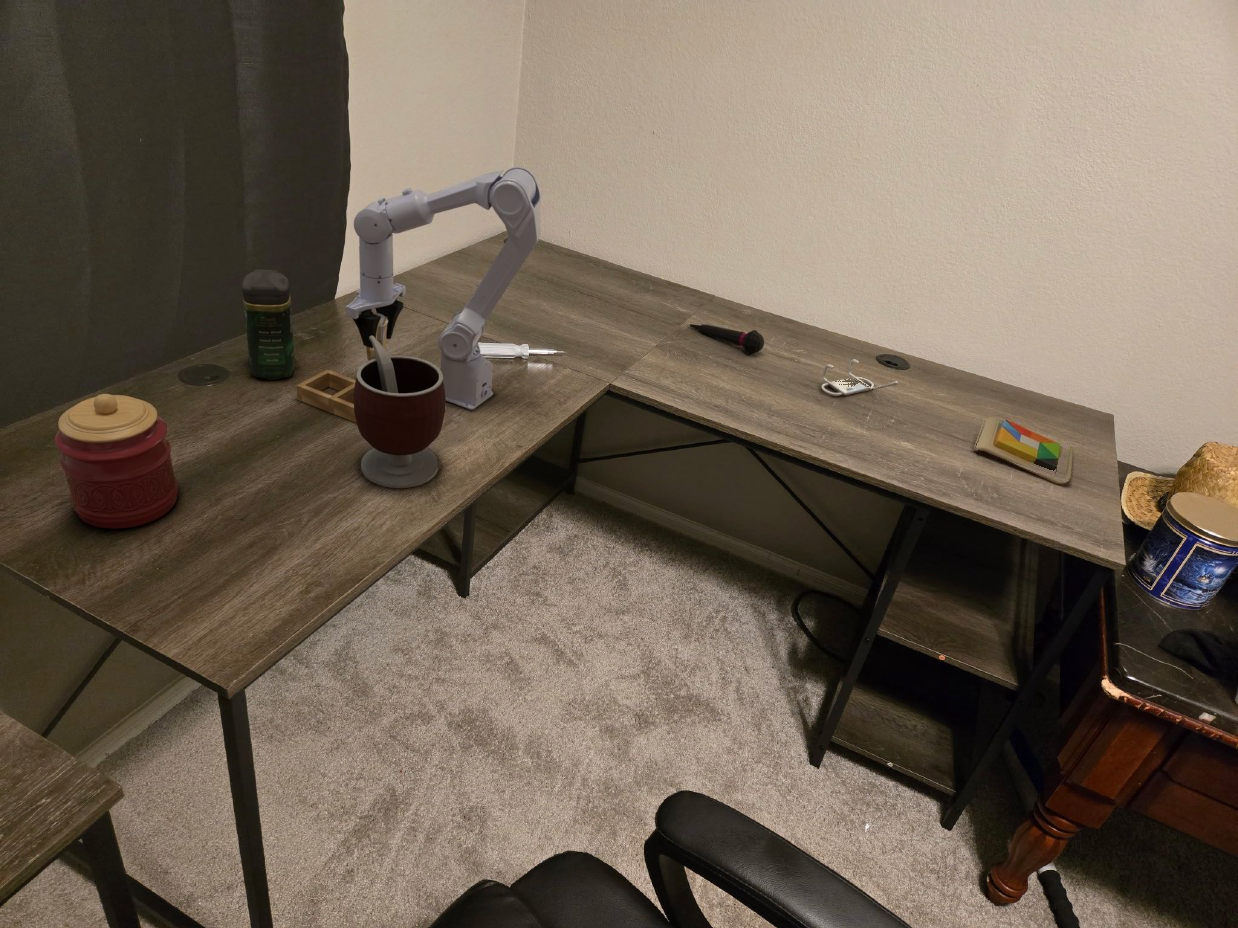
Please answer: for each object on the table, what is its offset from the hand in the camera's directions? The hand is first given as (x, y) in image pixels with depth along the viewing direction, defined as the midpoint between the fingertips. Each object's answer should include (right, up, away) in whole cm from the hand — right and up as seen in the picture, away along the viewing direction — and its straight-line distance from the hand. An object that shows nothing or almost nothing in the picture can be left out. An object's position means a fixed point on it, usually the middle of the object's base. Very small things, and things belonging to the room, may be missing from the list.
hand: (377, 341), depth 149 cm
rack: (-4, -12, -5) cm, 14 cm away
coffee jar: (-20, -5, +2) cm, 21 cm away
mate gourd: (+9, -23, -17) cm, 30 cm away
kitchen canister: (-25, -29, -35) cm, 52 cm away
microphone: (+72, +7, +46) cm, 85 cm away
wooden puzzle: (+132, -21, +21) cm, 135 cm away
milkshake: (-1, -3, +2) cm, 4 cm away
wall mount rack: (+99, -7, +33) cm, 105 cm away
